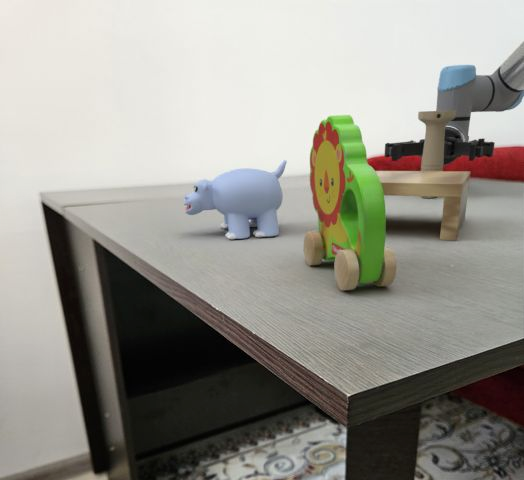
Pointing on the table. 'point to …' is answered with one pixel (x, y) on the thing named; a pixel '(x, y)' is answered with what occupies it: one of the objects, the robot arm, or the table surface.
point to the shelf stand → (433, 193)
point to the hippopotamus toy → (241, 200)
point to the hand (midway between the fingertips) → (431, 153)
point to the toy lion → (347, 208)
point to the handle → (434, 139)
